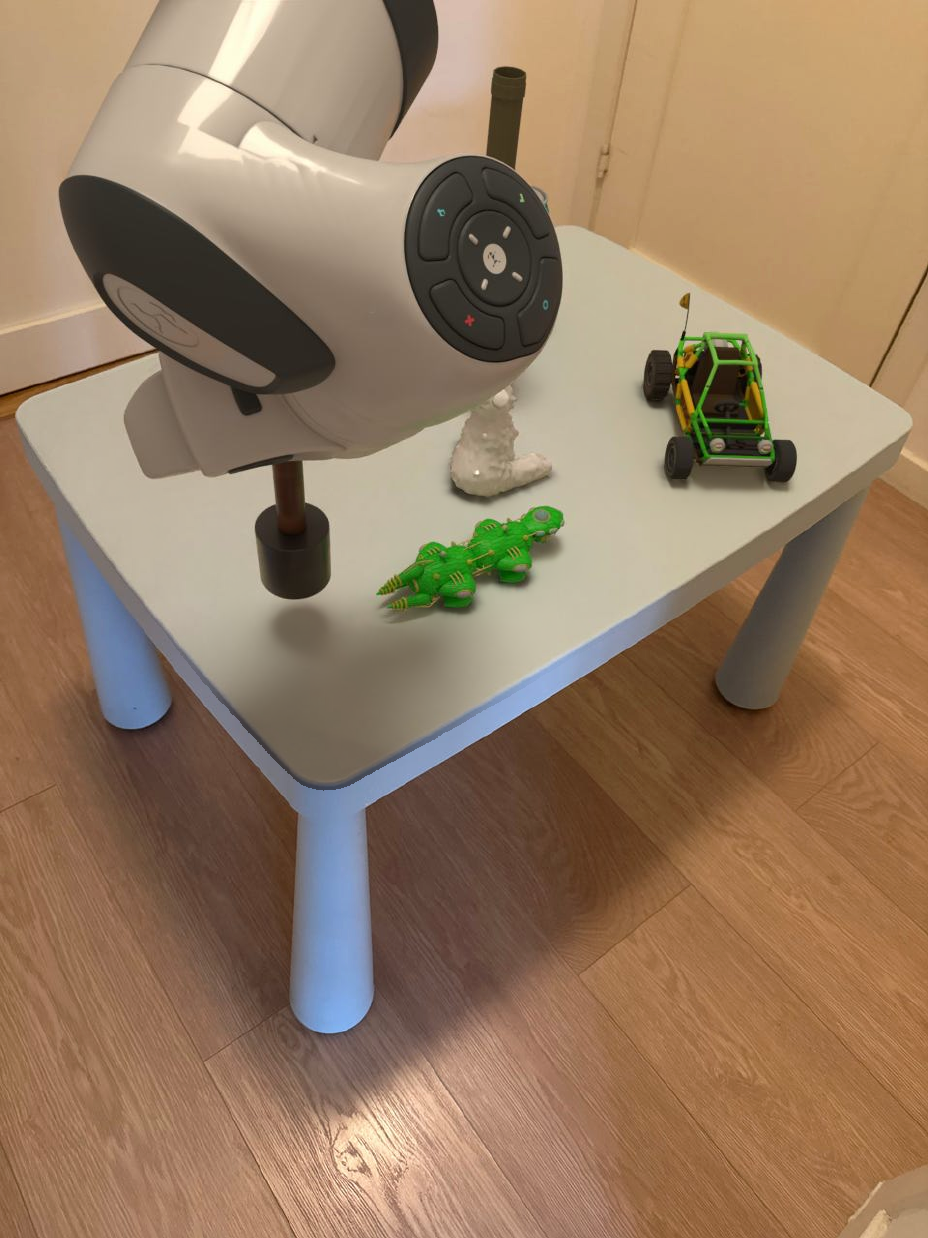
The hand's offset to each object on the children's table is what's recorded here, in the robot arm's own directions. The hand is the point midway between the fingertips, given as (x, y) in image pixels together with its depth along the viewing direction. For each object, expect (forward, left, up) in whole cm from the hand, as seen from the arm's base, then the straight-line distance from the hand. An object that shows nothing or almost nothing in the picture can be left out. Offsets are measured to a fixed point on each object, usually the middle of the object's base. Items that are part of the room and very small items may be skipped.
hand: (279, 418), depth 59 cm
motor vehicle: (+44, +15, -20) cm, 51 cm away
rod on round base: (0, -1, -14) cm, 14 cm away
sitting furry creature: (+20, +13, -20) cm, 31 cm away
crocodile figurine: (+15, +2, -20) cm, 25 cm away
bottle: (+23, +26, -20) cm, 40 cm away
